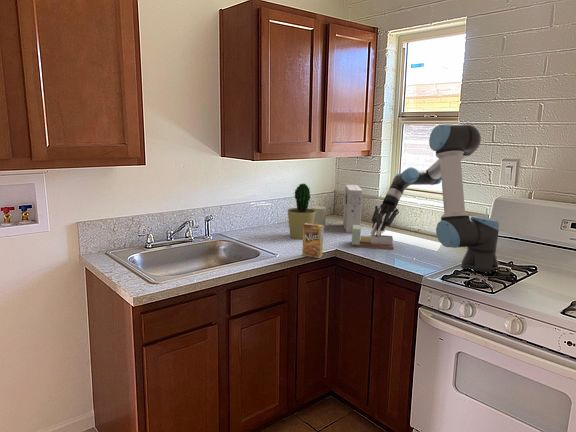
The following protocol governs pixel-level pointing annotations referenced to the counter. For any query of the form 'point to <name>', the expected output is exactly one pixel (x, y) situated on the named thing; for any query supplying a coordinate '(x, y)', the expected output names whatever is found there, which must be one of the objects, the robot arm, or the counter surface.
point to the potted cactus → (300, 212)
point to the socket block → (356, 234)
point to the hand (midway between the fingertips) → (374, 234)
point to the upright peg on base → (379, 221)
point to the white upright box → (352, 207)
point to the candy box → (312, 240)
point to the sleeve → (381, 240)
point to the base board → (373, 245)
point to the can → (319, 215)
